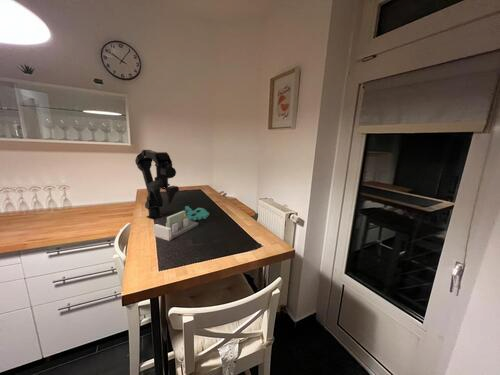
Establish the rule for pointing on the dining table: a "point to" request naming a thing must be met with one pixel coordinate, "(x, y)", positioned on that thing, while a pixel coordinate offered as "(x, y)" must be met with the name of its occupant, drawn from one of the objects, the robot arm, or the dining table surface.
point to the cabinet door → (176, 219)
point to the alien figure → (196, 213)
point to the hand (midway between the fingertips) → (163, 202)
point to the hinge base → (173, 229)
